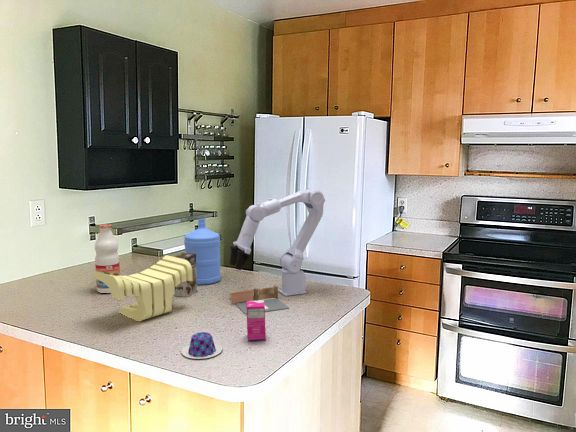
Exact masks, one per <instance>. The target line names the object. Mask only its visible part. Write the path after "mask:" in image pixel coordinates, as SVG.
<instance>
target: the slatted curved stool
mask: <svg viewBox="0 0 576 432" xmlns="http://www.w3.org/2000/svg"><path fill="white" fill-rule="evenodd" d="M93 279H95V280H96V279H97V280H100V281H102V282H103V283H105V284H106V285H107V286H108V287H109V289H110V291H111V294H110V295H111V297H112V299H114V300H117V301H122V300H123V299H125V298H127V297H132V296H134V298H135V300H136V302H134V303H132V304H129V305H125V306H122V307H120V308H119V311H118V314H119V313H121V314H123V315H122V316H124V315H125V316H124V317H126V316H127V317H126V318H129V319H131V318H132V319H131V320H133V319H134V321H137V322H142V321H144V320H149V319H150V318H154V317H157V316H161V315H163V314H167V313H170V312H172V311H173V310H172V309H173V308H172V307H173V305H172V304H173V297H174V286H175V287H177V285H179V284H180V282H185V281H186V280H187V281H193V278H192V267H191V264H190V263H189V262H188V261H187V260H184V259H180V258H176V256H170V255H167V254H166V255H165V256H163V257H162V258H161V259H159V260H158V261H157V262H156V263H155V264H153V265H151V266H150V267H149V268H146V269H143V270H142V271H139V272H138V273H137V272H136V273H133V274H129V275H120V276H114V275H108V274H104V273H101V272H98V271H96V269H95V270H93ZM121 314H120V315H121Z"/></svg>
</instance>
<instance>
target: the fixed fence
mask: <svg viewBox="0 0 576 432" xmlns="http://www.w3.org/2000/svg"><path fill="white" fill-rule="evenodd" d="M252 290H253V296H254V301H258V295H259V300H260V299H267V298H277V299H278V300H279V296H278V294H279V293H278V292H279V291H278V290H279V287H278V286H277V285H274V286H271V287H263V288H252Z"/></svg>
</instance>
